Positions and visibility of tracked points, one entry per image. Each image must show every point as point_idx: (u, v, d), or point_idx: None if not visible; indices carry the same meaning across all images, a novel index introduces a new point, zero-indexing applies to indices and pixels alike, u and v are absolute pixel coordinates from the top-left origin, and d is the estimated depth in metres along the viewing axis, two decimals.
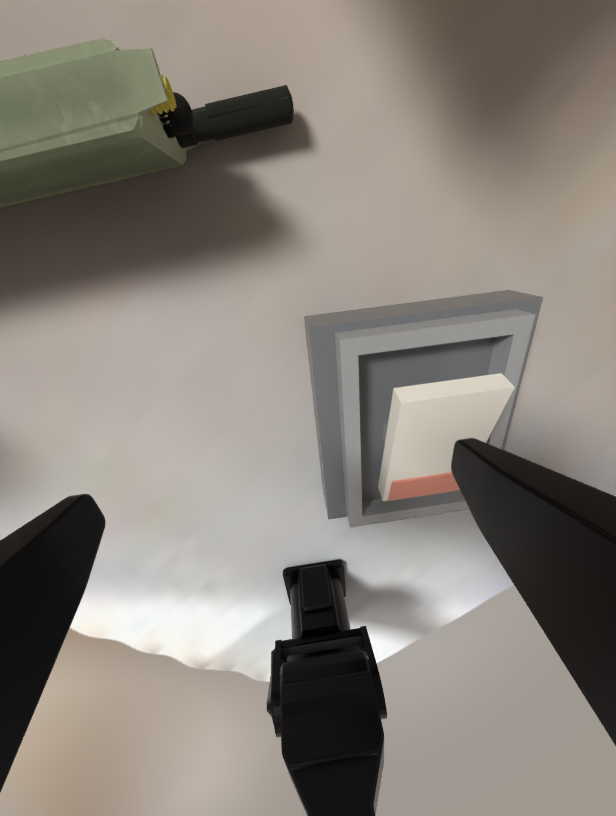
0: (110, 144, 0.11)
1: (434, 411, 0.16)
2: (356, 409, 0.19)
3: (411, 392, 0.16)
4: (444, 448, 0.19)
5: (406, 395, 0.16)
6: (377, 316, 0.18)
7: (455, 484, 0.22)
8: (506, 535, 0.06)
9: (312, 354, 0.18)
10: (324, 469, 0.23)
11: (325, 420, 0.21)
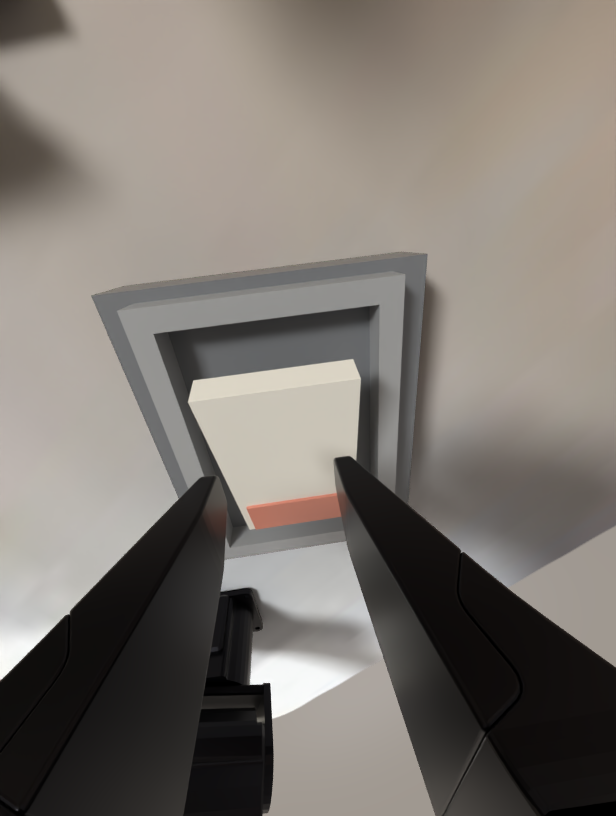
0: None
1: (251, 415, 0.11)
2: (176, 411, 0.14)
3: (212, 386, 0.11)
4: (298, 464, 0.14)
5: (203, 391, 0.11)
6: (198, 281, 0.13)
7: (339, 508, 0.17)
8: (357, 558, 0.06)
9: (109, 334, 0.13)
10: (176, 488, 0.18)
11: (157, 425, 0.15)
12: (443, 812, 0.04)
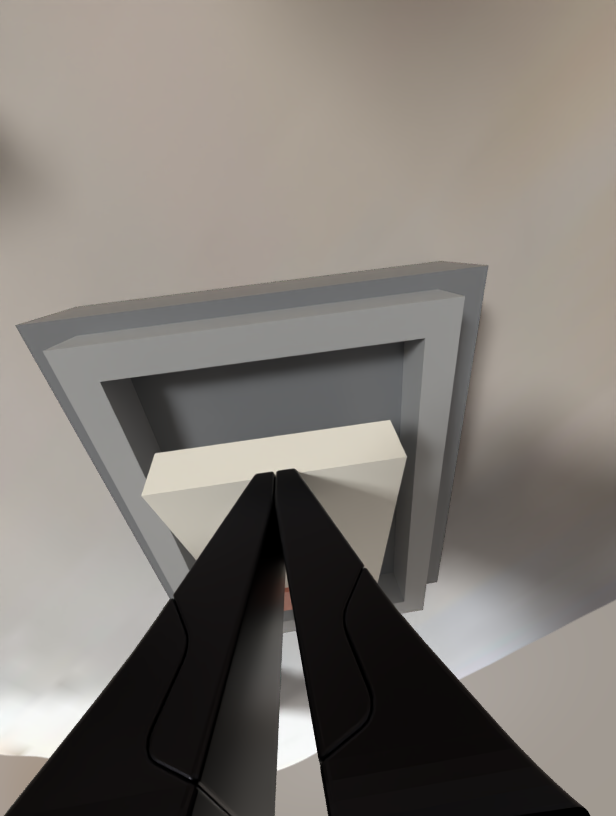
0: None
1: None
2: (139, 480, 0.10)
3: (182, 466, 0.07)
4: None
5: (166, 474, 0.07)
6: (169, 303, 0.09)
7: None
8: None
9: (46, 377, 0.09)
10: (149, 559, 0.14)
11: None
12: None
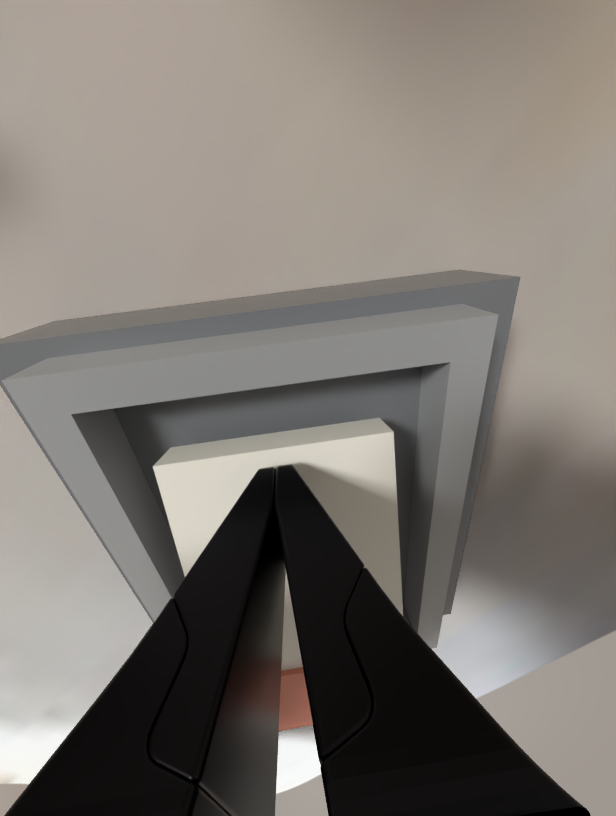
0: None
1: (240, 491, 0.08)
2: (121, 521, 0.09)
3: (192, 450, 0.08)
4: None
5: (178, 455, 0.08)
6: (154, 320, 0.08)
7: None
8: None
9: (15, 404, 0.08)
10: (138, 595, 0.13)
11: None
12: None
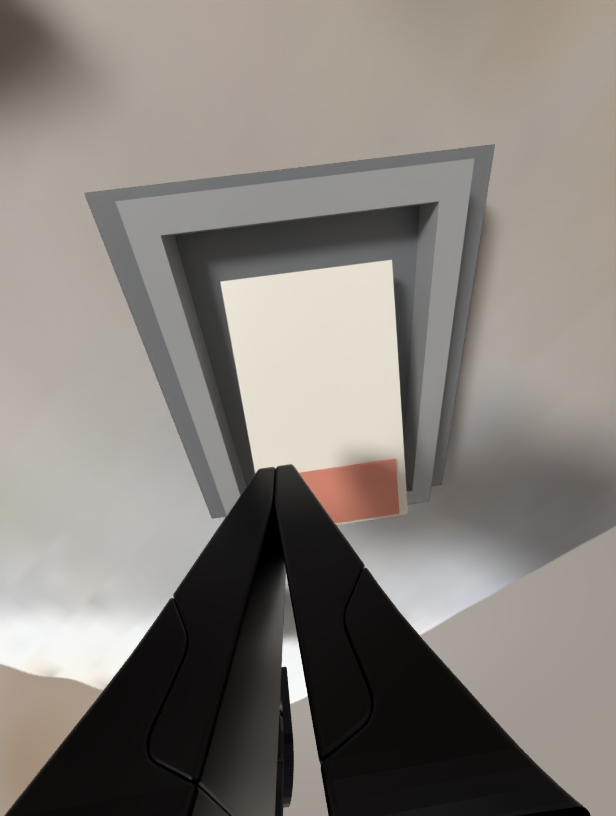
0: None
1: (281, 305, 0.11)
2: (187, 342, 0.11)
3: None
4: (331, 395, 0.12)
5: None
6: None
7: (387, 494, 0.12)
8: None
9: (107, 247, 0.11)
10: (185, 446, 0.15)
11: (164, 368, 0.13)
12: None
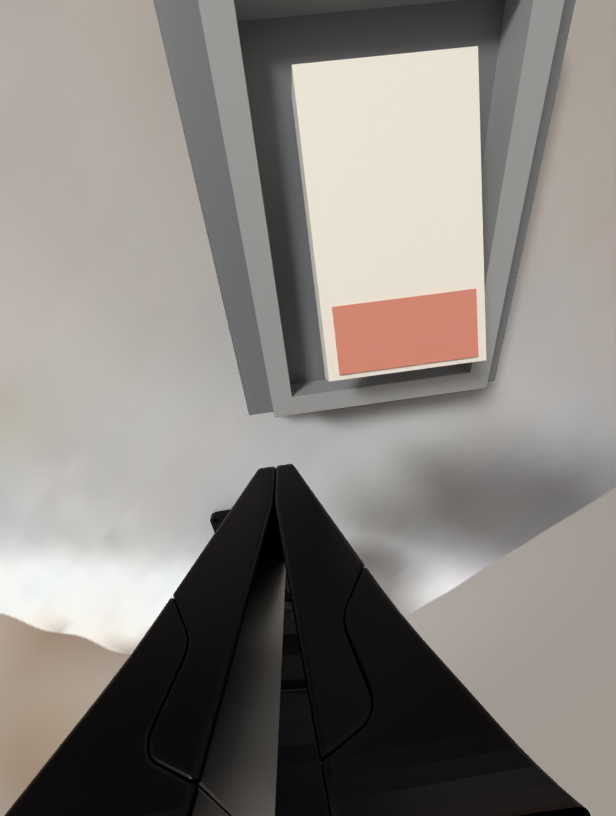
0: None
1: (356, 95, 0.10)
2: (249, 146, 0.10)
3: None
4: (406, 208, 0.10)
5: None
6: None
7: (465, 331, 0.11)
8: None
9: (163, 34, 0.10)
10: (228, 316, 0.14)
11: (213, 207, 0.12)
12: None
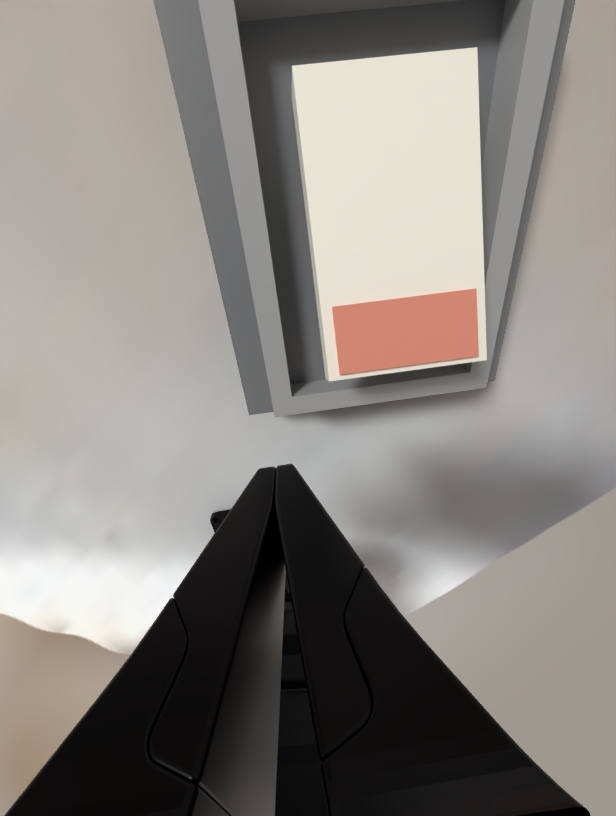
0: None
1: (356, 96, 0.10)
2: (249, 147, 0.10)
3: None
4: (406, 208, 0.10)
5: None
6: None
7: (466, 331, 0.11)
8: None
9: (163, 34, 0.10)
10: (228, 316, 0.14)
11: (213, 207, 0.12)
12: None
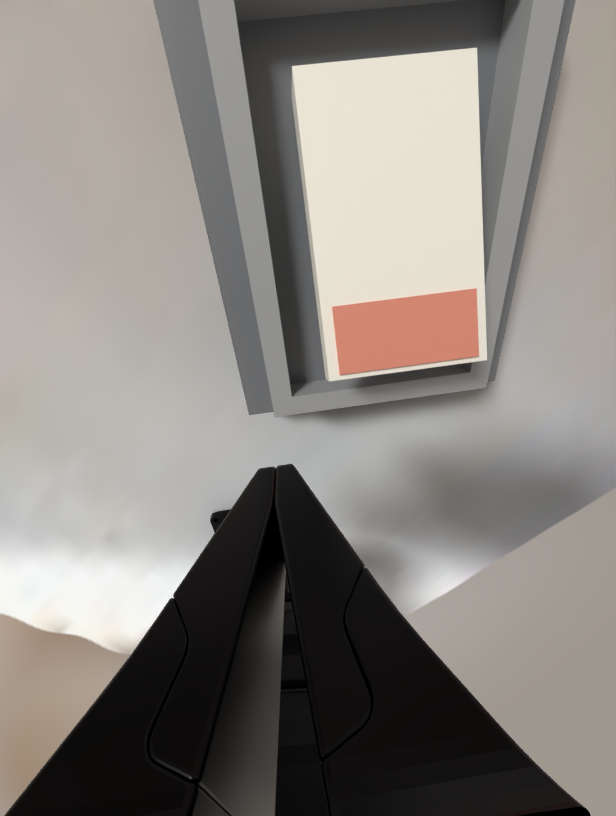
0: None
1: (356, 96, 0.10)
2: (249, 147, 0.10)
3: None
4: (406, 208, 0.10)
5: None
6: None
7: (466, 331, 0.11)
8: None
9: (163, 34, 0.10)
10: (228, 316, 0.14)
11: (213, 207, 0.12)
12: None
